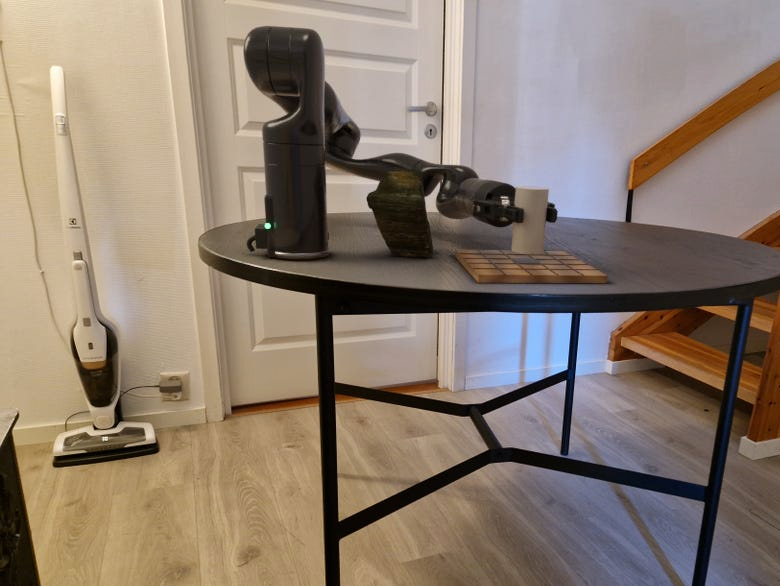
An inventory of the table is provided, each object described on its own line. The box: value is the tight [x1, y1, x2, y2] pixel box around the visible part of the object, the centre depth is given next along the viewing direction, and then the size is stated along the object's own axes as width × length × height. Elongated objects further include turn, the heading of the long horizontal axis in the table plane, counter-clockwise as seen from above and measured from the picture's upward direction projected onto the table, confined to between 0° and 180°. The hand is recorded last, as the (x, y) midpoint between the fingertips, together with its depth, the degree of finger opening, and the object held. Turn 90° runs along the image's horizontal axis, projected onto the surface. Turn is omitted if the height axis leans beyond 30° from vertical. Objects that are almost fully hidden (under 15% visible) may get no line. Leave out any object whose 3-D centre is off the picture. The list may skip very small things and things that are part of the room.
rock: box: [366, 167, 434, 259], centre depth 104 cm, size 12×9×15 cm
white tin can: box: [510, 185, 550, 255], centre depth 98 cm, size 5×5×10 cm
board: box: [454, 248, 609, 284], centre depth 100 cm, size 20×20×1 cm
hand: (537, 216), depth 95 cm, fingers closed on white tin can, 5 cm apart
